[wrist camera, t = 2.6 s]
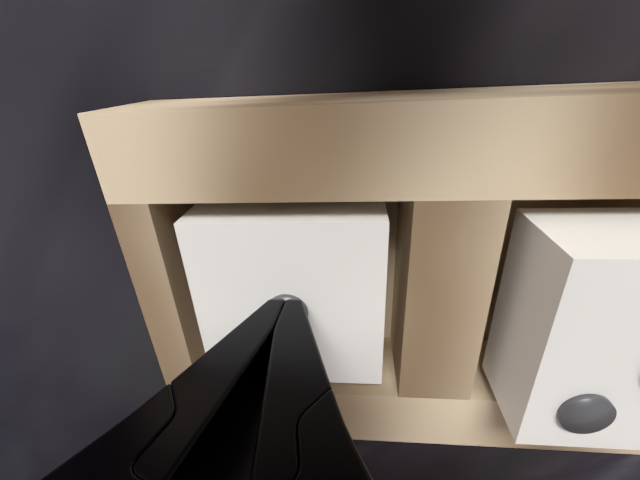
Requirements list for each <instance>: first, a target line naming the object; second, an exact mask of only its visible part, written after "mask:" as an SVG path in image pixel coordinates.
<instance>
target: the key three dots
mask: <svg viewBox="0 0 640 480" xmlns="http://www.w3.org/2000/svg"><path fill="white" fill-rule="evenodd" d="M482 367H483V370H484V372H485V374H486V377H487V379H488V381H489V384H490V386H491V388H492V391H493V393H494V395H495V398H496V400H497V402H498V405H499V407H500V410H501V412H502V414H503V417H504V419H505V421H506V424H507V426H508V428H509V431H510V433H511V435H512V438H513V440H514V442H515V444H528V445H547V446H567V447H586V448H605V449H625V450H640V207H624V208H517V209H516V213H515V218H514V222H513V227H512V231H511V236H510V241H509V245H508V250H507V254H506V259H505V263H504V268H503V273H502V277H501V282H500V286H499V291H498V295H497V300H496V305H495V309H494V314H493V318H492V323H491V327H490V332H489V337H488V341H487V346H486V350H485V355H484V359H483V364H482Z"/></svg>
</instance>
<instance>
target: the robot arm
mask: <svg viewBox="0 0 640 480" xmlns="http://www.w3.org/2000/svg"><path fill="white" fill-rule="evenodd" d="M41 480H373V479H372V477H371V475H370V473H369V471H368V469H367V467H366V465H365V463H364V461H363V460H362V458H361V456H360V454H359V452H358V450H357V448H356V446H355V444H354V442H353V440H352V438H351V435H350V433H349V431H348V429H347V427H346V425H345V422H344V420H343V417H342V415H341V412H340V409H339V407H338V404H337V401H336V398H335V395H334V392H333V391H332V387H331V384H330V381H329V378H328V375H327V372H326V369H325V366H324V363H323V361H322V358H321V355H320V352H319V349H318V346H317V343H316V340H315V337H314V334H313V331H312V328H311V325H310V322H309V319H308V316H307V313H306V310H305V307H304V305H303V302H302V300H296V299H288V300H286V301H285V300H284V299H270V300H268V301H267V302H265V303H264V304H263V305H262V306H261V307H259V308H258V309H257V310H256V311H255V312H254V313H252V314H251V315H250V316H249V317H248V318H246V319H245V320H244V321H243V322H242V323H240V324H239V325H238V326H237V327H236V328H234V329H233V330H232V331H231V332H230V333H228V334H227V335H226V336H225V337H224V338H223V339H221V340H220V341H219V342H218V343H217V344H215V345H214V346H213V347H212V348H211V349H209V350H208V351H207V352H206V353H205V354H203V355H202V356H201V357H200V358H199V359H197V360H196V361H195V362H194V363H193V364H192V365H190V366H189V367H188V368H187V369H186V370H184V371H183V372H182V373H181V374H180V375H178V376H177V377H176V378H175V379H174V380H172V381H171V384H167V385H166V386H165V387H164V388H163V389H162V390H160V391H159V392H158V393H157V394H156V395H154V396H153V397H152V398H151V399H149V400H148V401H147V402H146V403H144V404H143V405H142V406H141V407H139V408H138V409H137V410H136V411H134V412H133V413H132V414H131V415H129V416H128V417H127V418H125V419H124V420H122V421H121V422H120V423H118V424H117V425H116V426H114V427H113V428H112V429H110V430H109V431H108V432H106V433H105V434H104V435H102V436H101V437H99V438H98V439H97V440H95V441H94V442H92V443H91V444H90V445H88V446H87V447H85V448H84V449H83V450H81V451H80V452H78V453H77V454H76V455H74V456H73V457H71V458H70V459H69V460H67V461H66V462H65V463H63V464H62V465H60V466H59V467H58V468H56V469H55V470H53V471H52V472H51V473H49V474H48V475H46V476H45V477H44V478H42V479H41Z"/></svg>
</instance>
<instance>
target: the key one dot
mask: <svg viewBox="0 0 640 480" xmlns="http://www.w3.org/2000/svg"><path fill="white" fill-rule="evenodd" d="M174 229H175V233H176V237H177V241H178V245H179V249H180V253H181V257H182V261H183V265H184V269H185V273H186V277H187V281H188V285H189V289H190V293H191V297H192V301H193V305H194V310H195V314H196V318H197V322H198V326H199V330H200V334H201V338H202V342H203V346H204V350H205V353H206V352H207V351H208V350H209V349H211V348H212V347H213V346H214V345H215V344H217V343H218V342H219V341H220V340H221V339H223V338H224V337H225V336H226V335H227V334H228V333H230V332H231V331H232V330H233V329H234V328H236V327H237V326H238V325H239V324H240V323H242V322H243V321H244V320H245V319H246V318H248V317H249V316H250V315H251V314H252V313H254V312H255V311H256V310H257V309H258V308H259V307H261V306H262V305H263V304H264V303H265V302H267V301H268V300H270V299H284V300H285V301H286V300H288V299H296V300H302V302H303V305H304V307H305V310H306V313H307V316H308V319H309V322H310V325H311V328H312V331H313V334H314V337H315V340H316V343H317V346H318V349H319V352H320V355H321V358H322V361H323V363H324V366H325V369H326V372H327V375H328V378H329V381H330V382H334V383H361V384H382V365H383V345H384V324H385V304H386V284H387V263H388V243H389V218H388V214H387V210H386V205H385V202H288V203H196V204H195V205H194V206H193V207H192V208H191V209H189V210H188V211H187V212H186V213H185V214H184V215H183V216H182V217H181V218H179V219H178V220H177V221H176V222H175V223H174Z"/></svg>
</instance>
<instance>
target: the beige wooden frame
mask: <svg viewBox="0 0 640 480" xmlns="http://www.w3.org/2000/svg"><path fill="white" fill-rule="evenodd" d="M77 115H78V118H79V121H80V124H81V127H82V130H83V133H84V136H85V139H86V142H87V146H88V149H89V152H90V155H91V158H92V161H93V164H94V167H95V170H96V173H97V176H98V179H99V182H100V185H101V188H102V191H103V194H104V197H105V200H106V203H107V206H108V209H109V212H110V215H111V218H112V221H113V225H114V228H115V231H116V234H117V237H118V240H119V243H120V246H121V249H122V252H123V255H124V258H125V261H126V264H127V267H128V270H129V273H130V276H131V279H132V282H133V285H134V288H135V291H136V294H137V297H138V300H139V304H140V307H141V310H142V313H143V316H144V319H145V322H146V325H147V328H148V331H149V334H150V337H151V340H152V343H153V346H154V349H155V352H156V355H157V358H158V361H159V364H160V367H161V370H162V373H163V376H164V379H165V383H166V385H167V384H171V381H172V380H174V379H175V378H176V377H177V376H178V375H180V374H181V373H182V372H183V371H184V370H186V369H187V368H188V367H189V366H190V365H192V364H193V363H194V362H195V361H196V360H197V359H199V358H200V357H201V356H202V355H203V354H205V350H204V346H203V342H202V338H201V334H200V330H199V326H198V322H197V318H196V314H195V310H194V305H193V301H192V297H191V293H190V289H189V285H188V281H187V277H186V273H185V269H184V265H183V261H182V257H181V253H180V249H179V245H178V241H177V237H176V233H175V229H174V223H175V222H176V221H177V220H178V219H179V218H181V217H182V216H183V215H184V214H185V213H186V212H187V211H188V210H189V209H191V208H192V207H193V206H194V205H195V204H196V203H288V202H385V205H386V210H387V214H388V218H389V243H388V263H387V284H386V304H385V324H384V345H383V365H382V384H361V383H334V382H330V384H331V387H332V391H333V392H334V395H335V398H336V401H337V404H338V407H339V409H340V412H341V415H342V417H343V420H344V422H345V425H346V427H347V429H348V431H349V433H350V435H351V438H352V439H355V440H374V441H393V442H412V443H431V444H450V445H469V446H488V447H507V448H526V449H545V450H564V451H583V452H602V453H621V454H640V450H625V449H605V448H586V447H567V446H547V445H528V444H515V442H514V440H513V438H512V435H511V433H510V431H509V428H508V426H507V424H506V421H505V419H504V417H503V414H502V412H501V410H500V407H499V405H498V402H497V400H496V398H495V395H494V393H493V391H492V388H491V386H490V384H489V381H488V379H487V377H486V374H485V372H484V370H483V367H482V364H483V359H484V355H485V350H486V346H487V341H488V337H489V332H490V327H491V323H492V318H493V314H494V309H495V305H496V300H497V295H498V291H499V286H500V282H501V277H502V273H503V268H504V263H505V259H506V254H507V250H508V245H509V241H510V236H511V231H512V227H513V222H514V218H515V213H516V209H517V208H624V207H640V81H629V82H604V83H578V84H553V85H527V86H502V87H476V88H451V89H425V90H400V91H374V92H349V93H324V94H298V95H273V96H247V97H222V98H196V99H171V100H150V101H144V102H139V103H133V104H128V105H122V106H117V107H111V108H106V109H100V110H95V111H89V112H84V113H78V114H77Z"/></svg>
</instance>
